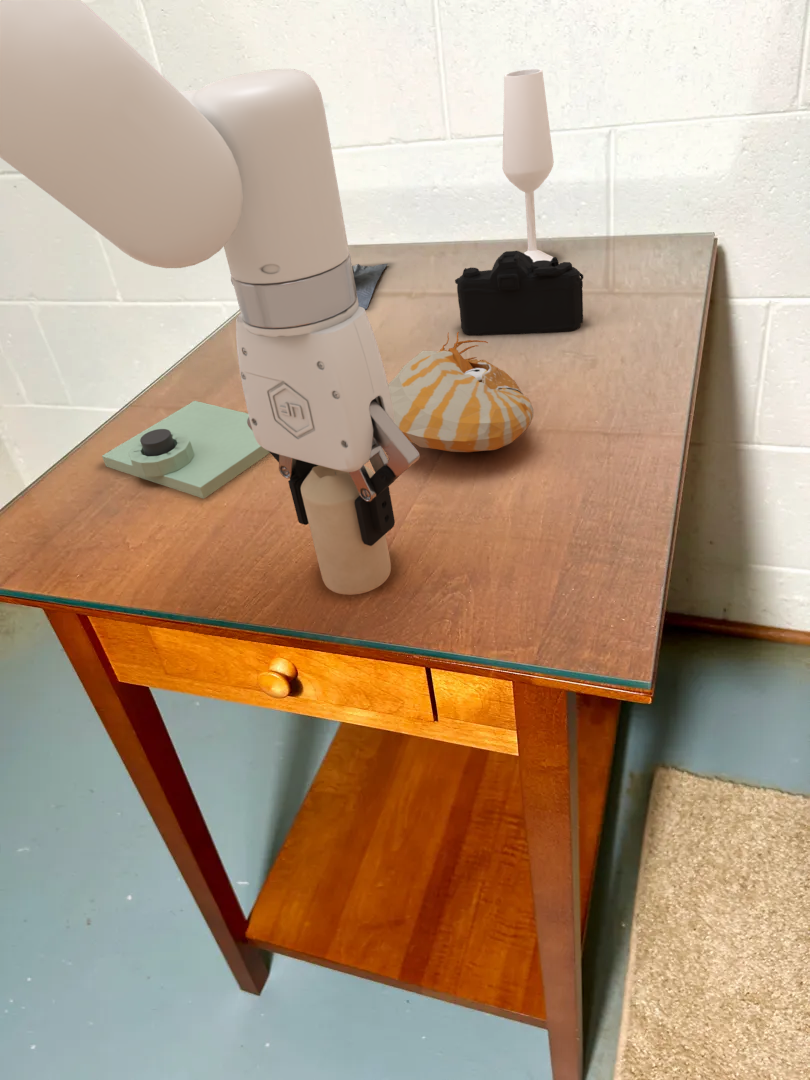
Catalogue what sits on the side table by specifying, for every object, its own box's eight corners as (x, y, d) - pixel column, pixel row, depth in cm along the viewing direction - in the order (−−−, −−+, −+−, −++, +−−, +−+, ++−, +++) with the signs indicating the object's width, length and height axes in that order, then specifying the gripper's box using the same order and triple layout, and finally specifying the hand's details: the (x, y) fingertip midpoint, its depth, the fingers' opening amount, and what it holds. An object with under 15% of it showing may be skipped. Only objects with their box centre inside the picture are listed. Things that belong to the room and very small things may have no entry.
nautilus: (422, 381, 96) (557, 389, 92) (357, 472, 79) (519, 487, 75) (418, 311, 92) (559, 316, 87) (348, 392, 75) (519, 402, 70)
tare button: (158, 460, 82) (153, 446, 82) (138, 454, 84) (133, 440, 83) (181, 445, 84) (177, 431, 83) (161, 440, 86) (157, 426, 85)
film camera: (588, 303, 106) (587, 229, 101) (581, 335, 99) (580, 257, 94) (468, 308, 111) (461, 237, 106) (453, 338, 103) (445, 264, 98)
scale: (197, 505, 80) (187, 477, 78) (98, 471, 88) (88, 446, 86) (295, 436, 88) (289, 409, 87) (198, 411, 96) (190, 387, 95)
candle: (390, 592, 65) (369, 481, 59) (319, 599, 66) (291, 489, 60) (393, 549, 70) (373, 442, 64) (326, 556, 70) (301, 450, 64)
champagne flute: (499, 268, 121) (485, 79, 108) (526, 253, 125) (516, 68, 112) (540, 273, 117) (531, 77, 104) (566, 257, 121) (560, 66, 108)
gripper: (164, 300, 57) (233, 524, 67) (365, 330, 48) (409, 584, 58) (243, 262, 62) (296, 477, 72) (440, 283, 52) (469, 526, 63)
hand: (346, 523), depth 65 cm, fingers closed on candle, 5 cm apart
